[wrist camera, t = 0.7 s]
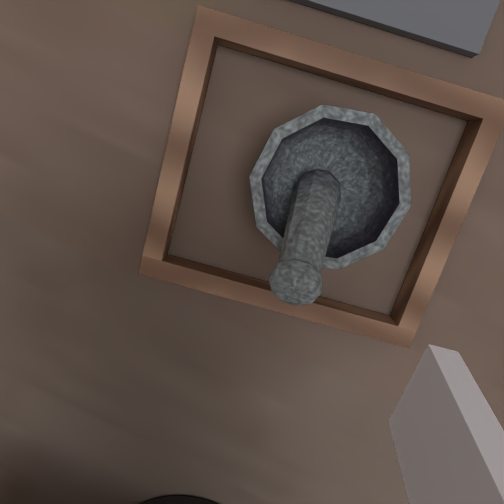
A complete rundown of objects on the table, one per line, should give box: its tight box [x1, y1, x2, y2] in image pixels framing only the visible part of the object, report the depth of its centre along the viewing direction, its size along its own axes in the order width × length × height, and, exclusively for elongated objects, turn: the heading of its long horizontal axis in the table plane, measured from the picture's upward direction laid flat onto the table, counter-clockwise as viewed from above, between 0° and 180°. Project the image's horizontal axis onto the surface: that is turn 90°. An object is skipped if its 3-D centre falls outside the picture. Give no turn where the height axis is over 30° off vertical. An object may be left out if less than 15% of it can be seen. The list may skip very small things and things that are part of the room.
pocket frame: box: [138, 5, 504, 348], centre depth 29 cm, size 19×22×2 cm
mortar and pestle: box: [249, 104, 411, 306], centre depth 24 cm, size 11×9×12 cm
